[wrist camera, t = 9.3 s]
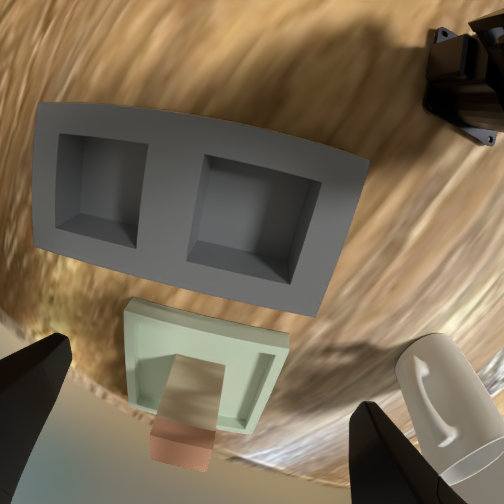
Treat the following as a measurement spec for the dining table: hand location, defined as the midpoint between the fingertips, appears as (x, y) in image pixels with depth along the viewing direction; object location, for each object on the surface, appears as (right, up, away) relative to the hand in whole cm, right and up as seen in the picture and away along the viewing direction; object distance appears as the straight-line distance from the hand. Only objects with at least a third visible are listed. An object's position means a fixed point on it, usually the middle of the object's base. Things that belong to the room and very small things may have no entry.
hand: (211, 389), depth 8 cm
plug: (-3, -6, +16) cm, 18 cm away
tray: (-3, -6, +17) cm, 18 cm away
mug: (+16, -5, +15) cm, 22 cm away
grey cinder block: (-3, +8, +10) cm, 13 cm away
